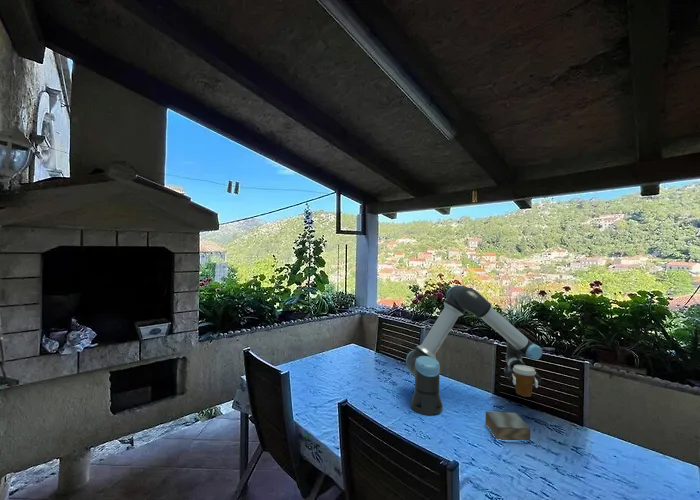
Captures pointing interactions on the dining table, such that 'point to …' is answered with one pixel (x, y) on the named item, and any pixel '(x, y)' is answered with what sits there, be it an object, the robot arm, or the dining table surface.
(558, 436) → the dining table surface
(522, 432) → the block
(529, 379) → the disposable coffee cup
